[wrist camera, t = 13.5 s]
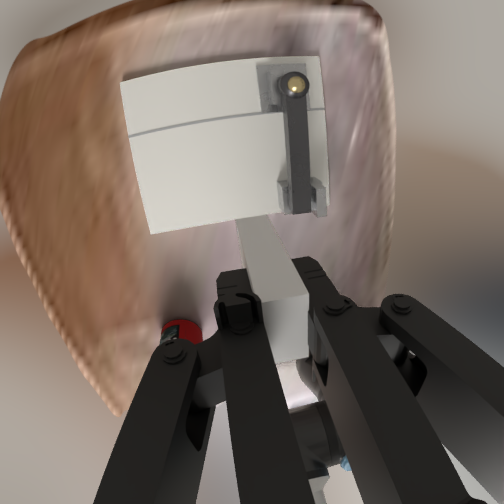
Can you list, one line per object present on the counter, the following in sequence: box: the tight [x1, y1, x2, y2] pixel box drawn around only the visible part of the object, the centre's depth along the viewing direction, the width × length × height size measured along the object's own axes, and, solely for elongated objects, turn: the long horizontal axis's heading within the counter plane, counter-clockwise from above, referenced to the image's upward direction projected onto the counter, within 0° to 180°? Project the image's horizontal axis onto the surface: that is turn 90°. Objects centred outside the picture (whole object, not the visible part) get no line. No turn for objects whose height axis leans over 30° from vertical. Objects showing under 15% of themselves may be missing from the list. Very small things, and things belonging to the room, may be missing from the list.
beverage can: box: [160, 319, 203, 345], centre depth 42 cm, size 7×7×12 cm
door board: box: [120, 56, 329, 234], centre depth 35 cm, size 20×24×1 cm
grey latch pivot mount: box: [256, 63, 311, 113], centre depth 31 cm, size 6×6×3 cm
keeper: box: [277, 177, 327, 218], centre depth 36 cm, size 4×5×5 cm
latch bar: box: [277, 71, 311, 214], centre depth 31 cm, size 16×3×2 cm, turn 5°
